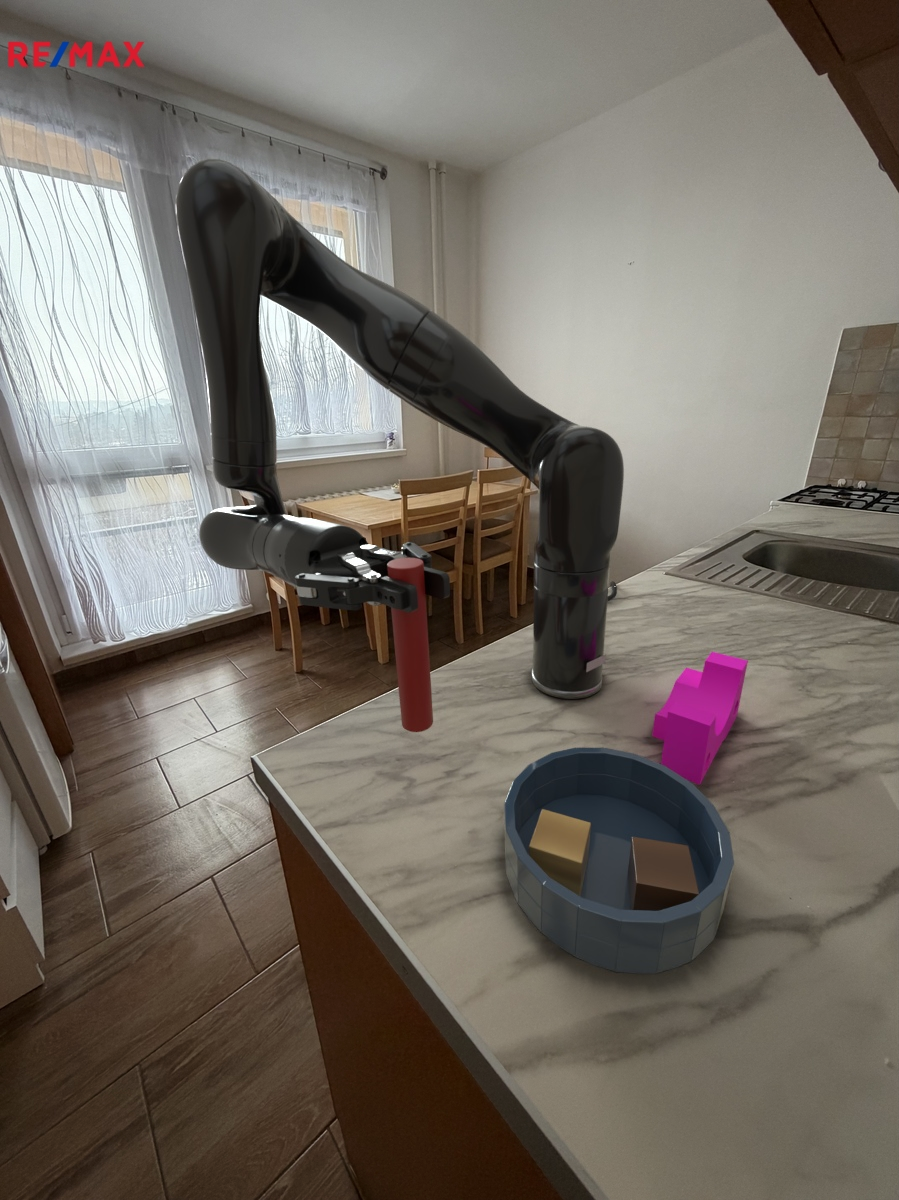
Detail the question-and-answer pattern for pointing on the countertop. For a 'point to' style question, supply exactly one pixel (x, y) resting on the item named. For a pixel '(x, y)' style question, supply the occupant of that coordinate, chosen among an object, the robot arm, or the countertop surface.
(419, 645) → the stirring stick
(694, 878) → the walnut cube
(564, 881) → the birch cube
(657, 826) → the bowl
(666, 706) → the toy block
